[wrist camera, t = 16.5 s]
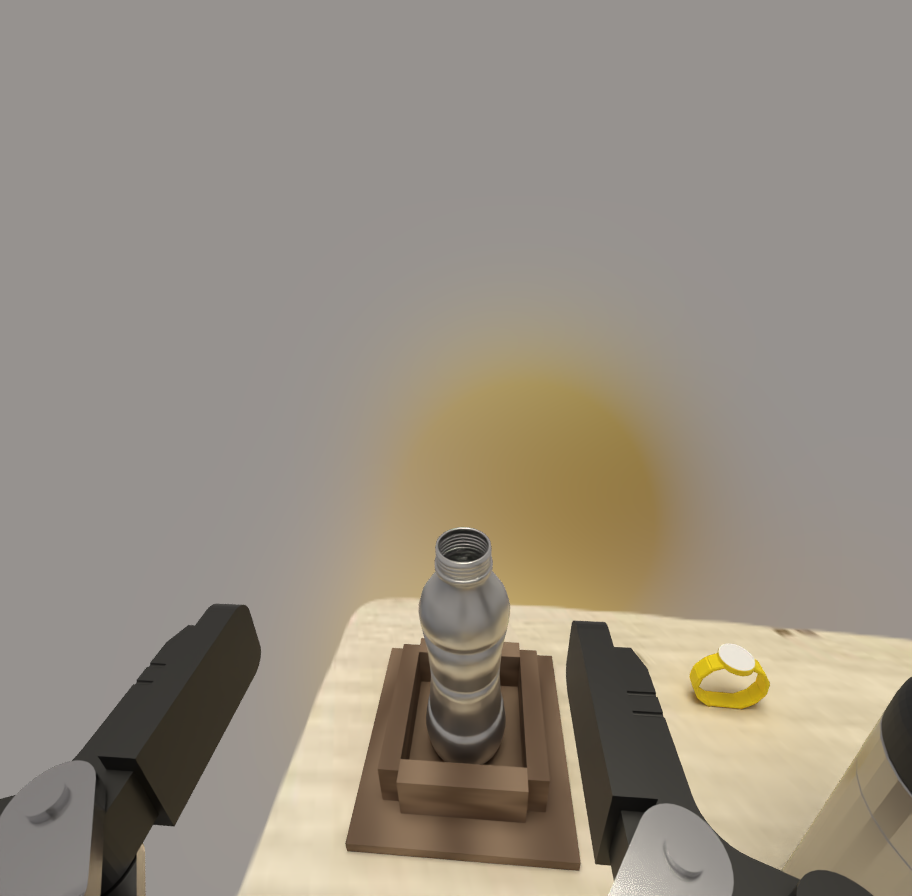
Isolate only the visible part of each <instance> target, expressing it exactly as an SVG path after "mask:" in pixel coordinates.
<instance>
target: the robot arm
mask: <svg viewBox="0 0 912 896" xmlns="http://www.w3.org/2000/svg"><path fill="white" fill-rule="evenodd" d="M260 657H261V647H260V644H259V640H258V637H257V634H256V630H255V627H254V624H253V621H252V617H251V614H250V611H249V608H248V607H247V606H246V605H233V604H213V605H212V606H210V607H209V608H208V609H207V610H206V612H205V613H204V614H203V616H202V617H201V618H200V620H199V621H198V623H197V624H196V625H195V626H193V625H188V626H187V627H185V628H184V629H183V630H182V631H180V632H179V633H178V634H177V635H175V636H174V637H173V638H171V639H170V640H169V641H168V642H166V644H165V645H164V646H163V647H162V649H161V650H160V651H159V653H158V654H157V655H156V656H155V658H154V659H153V660H152V661H151V663H150V666H149V667H147V668H146V669H145V670H144V671H143V673H142V674H141V675H140V677H139V678H138V679H137V683H136V684H135V685H133V686H132V687H131V688H130V689H129V691H128V692H127V693H126V694H125V696H124V697H123V698H122V699H121V701H120V702H119V703H118V704H117V706H116V707H115V708H114V710H113V711H112V712H111V713H110V715H109V716H108V717H107V719H106V720H105V721H104V722H103V724H102V725H101V726H100V727H99V729H98V730H97V731H96V732H95V734H94V735H93V736H92V737H91V739H90V740H89V741H88V743H87V744H86V745H85V746H84V748H83V749H82V750H81V751H80V752H79V754H78V755H77V756H76V757H75V758H74V759H73V760H72V761H69V762H65V763H62V764H59V765H57V766H54V767H52V768H51V769H49V770H47V771H45V772H43V773H42V774H40V775H39V776H37V777H36V778H34V779H33V780H32V781H30V782H29V783H28V784H27V785H26V786H25V787H24V788H22V789H21V790H20V791H19V792H18V793H17V795H14V796H10V797H6V798H3V799H0V896H145V848H144V844H143V841H144V840H145V838H146V836H147V834H148V833H149V831H150V829H151V827H152V825H163V826H175V824H176V822H177V820H178V818H179V816H180V815H181V813H182V811H183V809H184V807H185V805H186V804H187V802H188V800H189V798H190V796H191V794H192V792H193V790H194V789H195V787H196V785H197V783H198V781H199V779H200V777H201V775H202V774H203V772H204V770H205V768H206V766H207V764H208V762H209V760H210V758H211V757H212V755H213V753H214V751H215V749H216V747H217V745H218V743H219V742H220V740H221V738H222V736H223V734H224V732H225V730H226V728H227V727H228V725H229V723H230V721H231V719H232V717H233V715H234V713H235V712H236V710H237V708H238V706H239V704H240V701H241V700H242V698H243V696H244V695H245V693H246V691H247V689H248V687H249V685H250V683H251V681H252V680H253V678H254V676H255V674H256V672H257V669H258V666H259V662H260ZM566 682H567V692H568V698H569V704H570V711H571V717H572V723H573V729H574V735H575V741H576V748H577V754H578V760H579V766H580V772H581V778H582V784H583V791H584V797H585V803H586V809H587V815H588V821H589V828H590V834H591V840H592V846H593V852H594V858H595V864H600V865H611V868H612V873H613V878H614V883H613V885H612V888H611V890H610V892H609V895H608V896H912V677H910V678H909V679H908V680H907V681H906V682H905V683H904V684H903V685H902V686H901V688H900V689H899V690H898V691H897V693H896V694H895V696H894V697H893V699H892V700H891V702H890V703H889V705H888V707H887V708H886V710H885V711H884V713H883V714H882V716H881V717H880V719H879V720H878V722H877V724H876V725H875V727H874V728H873V730H872V731H871V733H870V734H869V736H868V737H867V739H866V741H865V742H864V744H863V745H862V747H861V749H860V751H859V752H858V754H857V755H856V757H855V758H854V760H853V761H852V763H851V764H850V766H849V768H848V769H847V771H846V772H845V774H844V775H843V777H842V778H841V780H840V781H839V783H838V785H837V786H836V788H835V789H834V791H833V792H832V794H831V795H830V797H829V798H828V800H827V802H826V803H825V805H824V806H823V808H822V809H821V811H820V812H819V814H818V815H817V817H816V819H815V820H814V822H813V823H812V825H811V826H810V828H809V829H808V831H807V832H806V834H805V836H804V837H803V839H802V840H801V842H800V843H799V845H798V846H797V848H796V849H795V851H794V852H793V854H792V856H791V857H790V859H789V860H788V862H787V863H786V865H785V866H784V868H783V869H782V871H780V870H778V869H776V868H773V867H771V866H769V865H766V864H764V863H762V862H760V861H757V860H755V859H753V858H751V857H749V856H747V855H745V854H743V853H741V852H739V851H738V850H736V849H735V848H733V847H732V846H730V845H729V844H728V843H727V842H726V841H724V840H723V839H722V838H721V837H720V836H719V835H718V834H717V833H716V832H715V831H714V830H713V829H712V828H711V826H710V825H709V824H708V823H707V822H706V820H705V819H704V817H703V816H702V814H701V813H700V811H699V809H698V807H697V806H696V804H695V801H694V799H693V796H692V794H691V791H690V788H689V785H688V782H687V779H686V777H685V774H684V771H683V768H682V765H681V762H680V760H679V757H678V754H677V751H676V748H675V745H674V743H673V740H672V737H671V734H670V731H669V728H668V726H667V723H666V720H665V718H664V717H663V711H662V709H661V706H660V703H659V700H658V697H656V692H655V689H654V686H653V683H652V680H651V677H650V675H649V672H648V669H647V668H646V666H645V665H644V664H643V662H642V661H641V660H640V659H639V657H638V656H637V655H636V654H635V652H634V651H633V650H632V649H631V648H622V647H614V646H613V642H612V639H611V636H610V632H609V629H608V626H607V624H606V623H605V622H591V621H573V622H572V626H571V633H570V640H569V648H568V655H567V663H566Z"/></svg>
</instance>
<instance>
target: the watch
mask: <svg viewBox="0 0 912 896" xmlns="http://www.w3.org/2000/svg"><path fill="white" fill-rule="evenodd" d="M721 669H726V670H727V671H729V672H730V673H733V674H735V675H739V676H748V675H751V674H752V673H753V671H754V672H756V673H758V675H757V678H756V681H755V682H754V683H753V684H751V685H750V686H749V687H748V688H747V689H744V690H741V691H739V692H736V693H723V692H712V691H704V690H703V689H701V688H700V687H699V686H700V684H701V682H702V680H703V678H705V677H706V676H708V675H709V674H711V673H712V672H713V671H717V670H721ZM689 677H690V680H691V683H692V686H693V689H694V691H695V694H696V697H697V698H698V699H699V700H700V701H701V702H703V703H704V704H705V705H707V706H708V707H710V706H718V707H728V708H737V709H743V708H746V707H749V706H752V705H755V703H758V702H759V701H760V700H761V699H762V698H764V697H765V696H766V695H767V692H768V689H769V686H770V682H769V680H768V678H767V676H766V674H765V672H764V671H763V669H762V667H761V665H760V664H759V662H758V661H757V660H755V659H754V658H753V656H752V655H751V654H750V653H749V652H748V651H747V650H746V649H744V648H742V647H741V646H738V645H735V644H723V645H721V646H720V648H719V649H718V653H716V654H712V655H709V656H707V657H704V658H703V659H702V660H700V661H699V662H697V663H696V664H695V665H694V666H693V668H692V670H691V673H690V676H689Z"/></svg>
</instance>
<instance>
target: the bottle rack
mask: <svg viewBox="0 0 912 896" xmlns="http://www.w3.org/2000/svg"><path fill="white" fill-rule="evenodd" d="M430 684H431V670H430V663H429V656H428V649H427V645H426V642H425V638H421V644H420V645H411V644H404V647H403V649H400V648H392V651H391V655H390V659H389V663H388V668H387V672H386V676H385V680H384V684H383V689H382V693H381V697H380V701H379V705H378V709H377V714H376V718H375V722H374V726H373V730H372V735H371V739H370V743H369V747H368V751H367V755H366V760H365V764H364V768H363V772H362V776H361V781H360V785H359V789H358V793H357V797H356V801H355V806H354V810H353V814H352V818H351V822H350V827H349V831H348V835H347V839H346V843H345V844H346V848H347V851H357V852H368V853H380V854H392V855H404V856H415V857H427V858H439V859H451V860H462V861H474V862H486V863H498V864H509V865H521V866H533V867H544V868H556V869H568V870H579V868H580V864H581V863H580V856H579V848H578V841H577V834H576V827H575V820H574V812H573V805H572V798H571V791H570V784H569V777H568V769H567V762H566V755H565V748H564V741H563V733H562V726H561V719H560V712H559V705H558V697H557V690H556V683H555V676H554V669H553V662H552V656H539V655H537V653H536V651H532V650H519V643H511V642H504V643H503V648H502V654H501V664H500V686H501V694H502V698H503V702H504V709H505V716H506V726H505V730H504V734H503V738H502V741H501V743H500V746H499V748H498V750H497V752H496V753H495V754H494V756H493V757H492V758H491V759H490V760H489V761H487V762H486V763H484V764H482V765H479V764H465V763H450V762H445V761H444V760H443V759H442V758H441V757H440V756H439V755H438V754H437V752H436V751H435V749H434V747H433V745H432V743H431V740H430V737H429V734H428V731H427V726H426V713H427V705H428V699H429V695H430Z"/></svg>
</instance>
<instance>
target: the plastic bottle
mask: <svg viewBox="0 0 912 896" xmlns="http://www.w3.org/2000/svg"><path fill="white" fill-rule="evenodd" d="M435 548H436V558H435V571H436V572H435V573H434V574H433V575H432V577H431V578H430V579H429V580H428V581H427V583H426V585H425V586H424V588H423V591H422V595H421V598H420V602H419V617H420V623H421V627H422V630H423V634H424V638H425V642H426V645H427V649H428V656H429V663H430V670H431V684H430V695H429V699H428V705H427V713H426V726H427V731H428V734H429V737H430V740H431V743H432V745H433V747H434V749H435V751H436V752H437V754H438V755H439V756H440V757H441V758H442V759H443V760H444V761H445V762H450V763H465V764H479V765H482V764H484V763H486V762H487V761H489V760H490V759H491V758H492V757H493V756H494V754H495V753H496V752H497V750H498V748H499V746H500V743H501V741H502V738H503V734H504V730H505V726H506V716H505V709H504V702H503V698H502V694H501V686H500V664H501V654H502V648H503V643H504V639H505V635H506V631H507V627H508V623H509V615H510V603H509V599H508V596H507V593H506V590H505V587H504V585H503V583H502V582H501V581H500V580H499V578H498V577H497V576H496V575H495V574H494V572H493V571H492V565H493V564H492V563H493V561H492V557H491V543H490V540H489V538H488V537H487V536H486V535H485V534H484V533H483V532H481V531H479V530H477V529H474V528H468V527H460V528H454V529H450V530H448V531H446V532H444V533H443V534H442V535H441V536H440V537H439V538H438V540H437V542H436V547H435Z"/></svg>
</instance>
